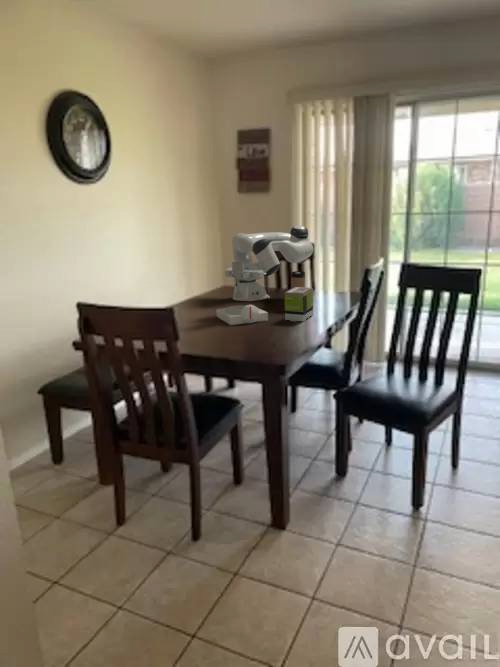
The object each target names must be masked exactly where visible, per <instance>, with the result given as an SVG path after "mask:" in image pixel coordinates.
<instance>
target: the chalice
mask: <svg viewBox="0 0 500 667" xmlns="http://www.w3.org/2000/svg"><path fill="white" fill-rule="evenodd" d="M230 262H231V267H232V272H233V275H234V277H235V279H236V280H237V292H235V294H234V293H233V296H234V298H243V295H242V293H241V292H240V291H239V288H240V287H239V284H240V283H239V280H240V279H241V277H242V274H243V272H244V262H245V261H243V260H234V259H233V260H231V261H230ZM234 277H233V278H234Z"/></svg>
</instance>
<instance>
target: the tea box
mask: <svg viewBox="0 0 500 667" xmlns="http://www.w3.org/2000/svg"><path fill="white" fill-rule="evenodd" d="M312 315H313V316H314V288H313V287H306V286H305V287H294V288H292V289H291V288H290V289H289V290H287V291H285V292H284V319H285V321H286V320H290V321H289V322H296V321H304V322H306V321H307V320H308V319H310V318H311V317H313V316H312ZM310 316H311V317H310ZM309 317H310V318H309ZM307 318H308V319H307ZM306 319H307V320H306Z"/></svg>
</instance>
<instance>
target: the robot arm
mask: <svg viewBox="0 0 500 667" xmlns="http://www.w3.org/2000/svg"><path fill="white" fill-rule="evenodd" d="M231 243H232V254H233V260H243V261H245V262H244V272H243V274H242V277H241V279H240V280H239V283H240V284H239V287H240V288H239V291H240V292H241V293H242V295H243V298H234V294H235V292H237V280H236V279H235V277H234V275H233V272H232V266H231V267H229V268H226V269H225V270H224V276H225V277H226V278H233V283H234V284H233V285H234V289H233V296H232V300H234V301H239V302H240V301H241V302H242V301H243V302H253V301H254V302H255V301H261V300H267V298H268V299H270V298H271V297H270V295H269V294H267V291H266V288H265V287H264V286H263V285H262V284H260V283H259V282H258V280H261V279H263V278H264V277H269V276H271V275H273V274H275V273H276V272H278V271H279V269H280V266H281V263H280V261H279V258H278V256H277V254H276V253H275V252H280V253H281V255H282V256H283V257H284V259H285V260H286V261H287V262H289V263H290V264H291V263H292V264H303V263H305V262H306V261H307V259H308V258H310V257H311V256H312V255H313V253H314V246H313V244H312V243H311V241H309V230H308V228H307V227H306V226H303V225H295V226H292V227H291V228H290V231H289V232H283V231H282V232H281V231H277V232H276V231H275V232H274V231H273V232H257V233H244V232H239V233H236V234H235V235H234V236H233V237H232V242H231ZM252 254H254V256H255V257H256V259H257V261H255V262H254V261H253V257H252Z"/></svg>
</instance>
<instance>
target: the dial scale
mask: <svg viewBox="0 0 500 667" xmlns="http://www.w3.org/2000/svg"><path fill="white" fill-rule="evenodd" d="M216 318H218V319H220V320H222V321H223V322H225V323H227V324H228V325H229V326H233V325H235V326H236V325H241V324H253V323H258V322H265V321H269V312H267V311H266V310H263V309H261V308H259V307H258V306H255V305H254V304H247V305H244V304H242V305H231V306H228V307H225V308H216Z"/></svg>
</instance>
